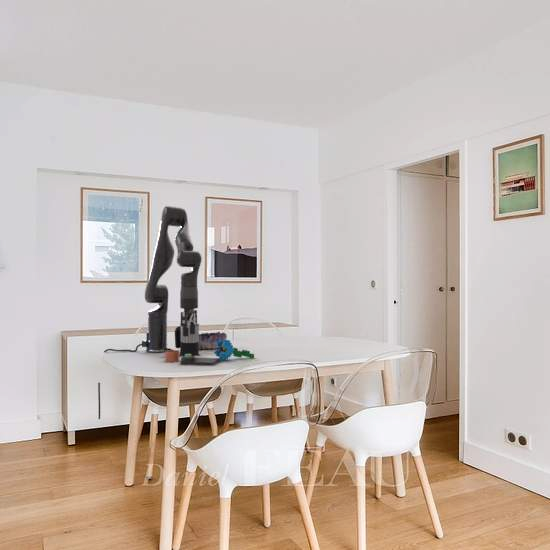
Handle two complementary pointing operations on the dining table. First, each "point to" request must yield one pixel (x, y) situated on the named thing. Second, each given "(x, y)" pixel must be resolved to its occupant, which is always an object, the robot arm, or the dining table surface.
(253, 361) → the dining table surface
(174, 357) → the bowl
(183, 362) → the scale
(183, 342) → the milk frother
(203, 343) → the geode
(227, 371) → the dining table surface
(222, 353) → the toy flower
